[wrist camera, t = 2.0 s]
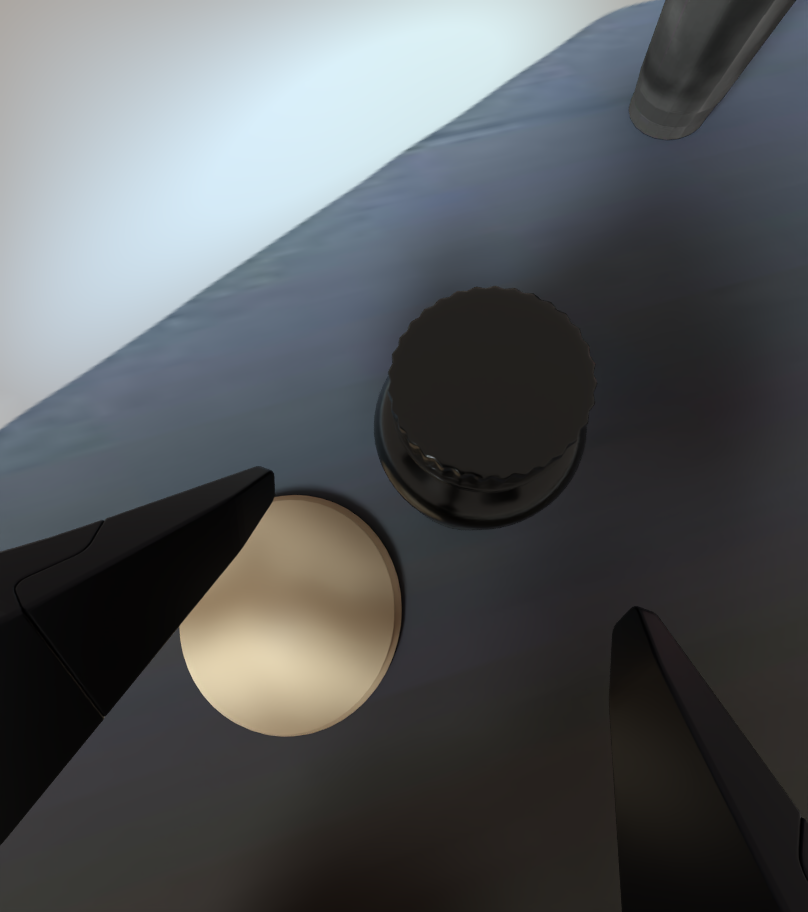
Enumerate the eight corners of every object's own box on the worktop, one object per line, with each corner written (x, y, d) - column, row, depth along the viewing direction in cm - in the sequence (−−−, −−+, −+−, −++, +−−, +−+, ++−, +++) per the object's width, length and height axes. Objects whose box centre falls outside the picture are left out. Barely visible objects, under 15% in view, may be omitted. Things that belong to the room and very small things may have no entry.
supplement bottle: (491, 384, 21) (556, 200, 9) (553, 495, 20) (721, 443, 8) (379, 437, 21) (303, 320, 9) (432, 553, 20) (423, 585, 8)
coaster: (417, 719, 18) (416, 728, 17) (186, 745, 19) (175, 754, 18) (386, 481, 21) (384, 478, 20) (182, 511, 21) (172, 511, 20)
